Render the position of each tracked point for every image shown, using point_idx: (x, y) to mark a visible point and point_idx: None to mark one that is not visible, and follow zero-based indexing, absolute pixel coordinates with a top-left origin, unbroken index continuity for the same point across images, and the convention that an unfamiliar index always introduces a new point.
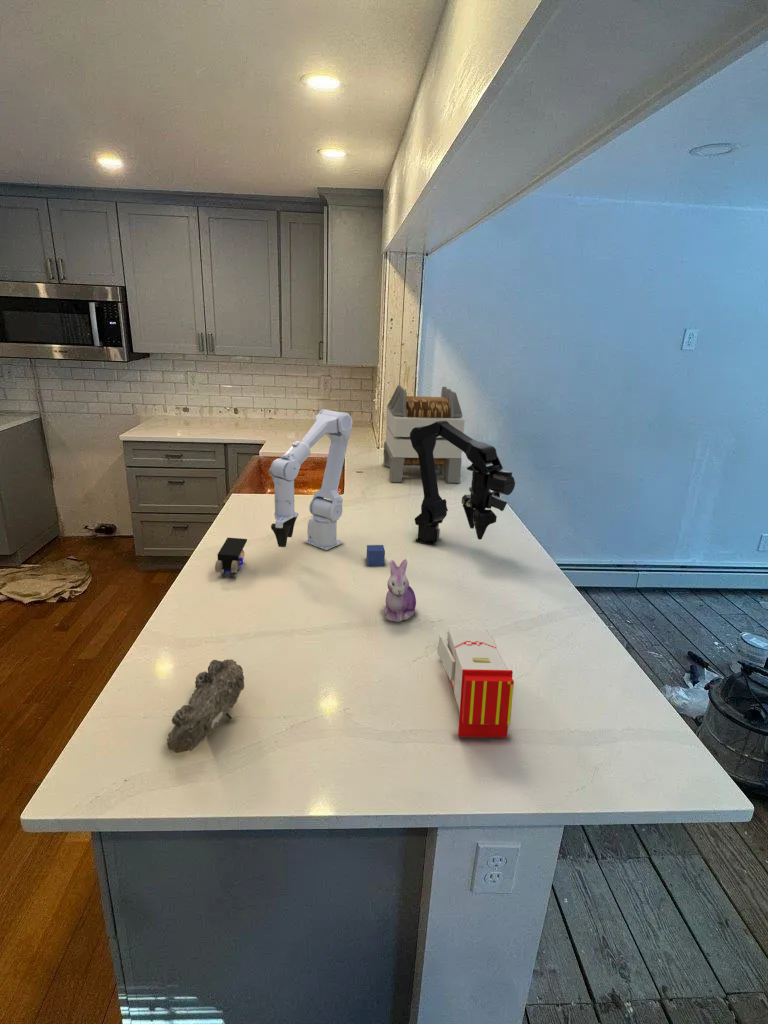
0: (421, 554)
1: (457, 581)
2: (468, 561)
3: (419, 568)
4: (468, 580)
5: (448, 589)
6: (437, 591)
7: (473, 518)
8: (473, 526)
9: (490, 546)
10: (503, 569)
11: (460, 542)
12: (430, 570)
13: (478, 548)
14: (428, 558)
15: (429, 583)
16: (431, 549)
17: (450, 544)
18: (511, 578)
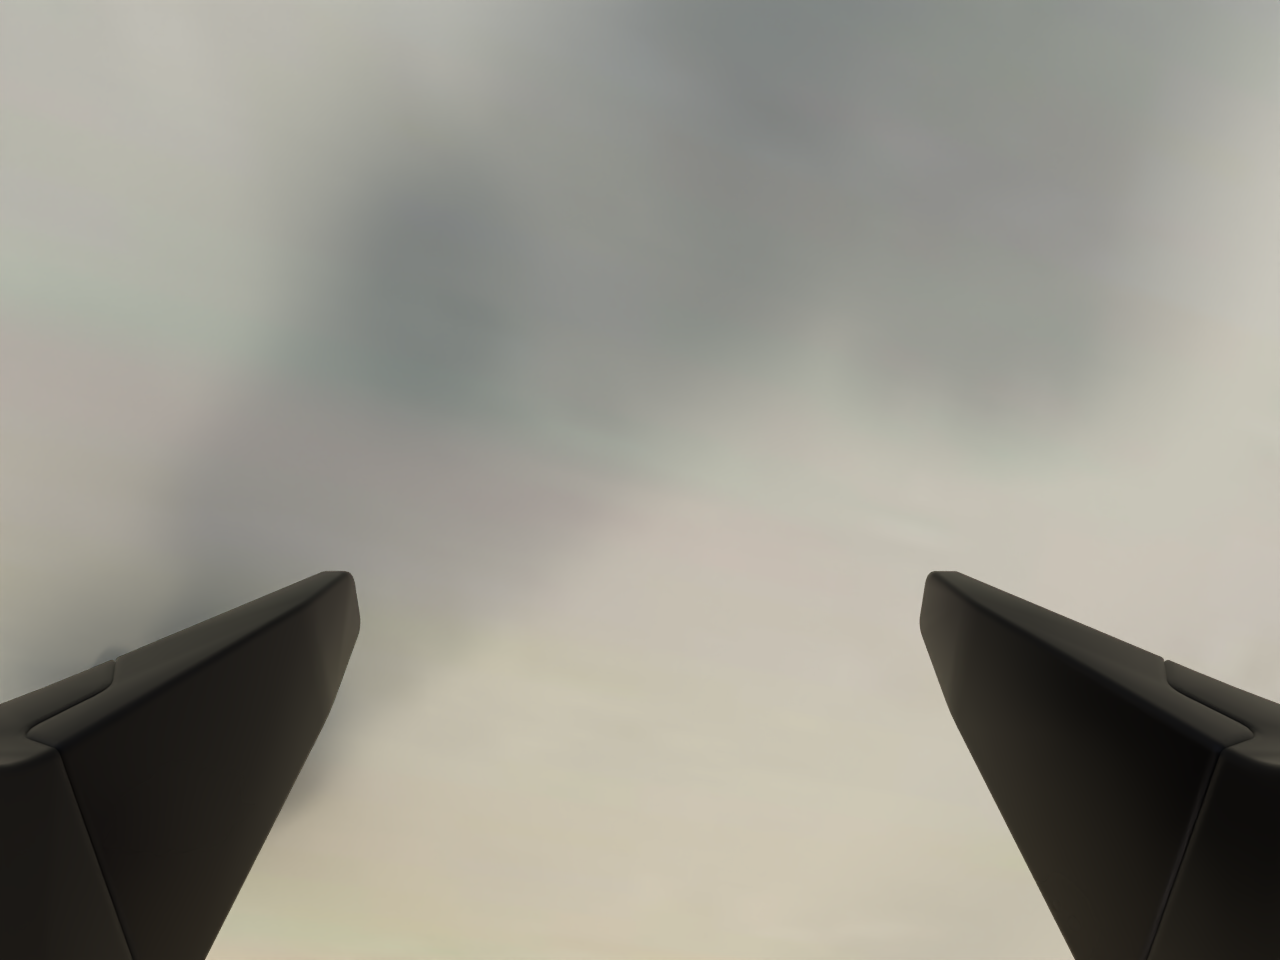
0: (516, 868)
1: None
2: (689, 493)
3: (807, 920)
4: (1130, 601)
5: None
6: None
7: (224, 735)
8: (337, 598)
9: (184, 54)
10: (960, 113)
11: (130, 451)
12: (857, 855)
13: (289, 266)
14: (605, 831)
15: None
16: (389, 776)
17: (220, 577)
18: (1231, 91)
